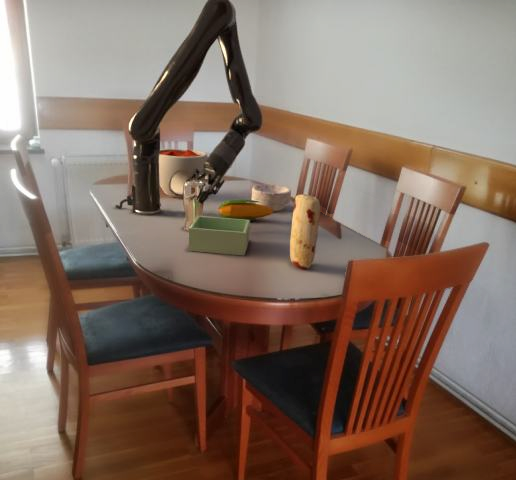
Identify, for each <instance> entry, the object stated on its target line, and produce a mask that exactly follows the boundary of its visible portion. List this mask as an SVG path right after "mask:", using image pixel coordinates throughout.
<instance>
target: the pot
mask: <svg viewBox="0 0 516 480" xmlns="http://www.w3.org/2000/svg"><path fill="white" fill-rule="evenodd" d="M208 157H209V155H208V154H207V153H205V152H204V151H200V150H194V149H189V148H188V149H186V148H185V149H184V148H160V156H159V178H160V189H162V191H163V192H164V194H166V195H167V196H169V197H171V198H176V199H177V198H178V199H183V195H182V193H183V186H184V182H186V180H187V179H188V177H189V176H190V175H191V174H192V172H193V171H194V170H195V169H196V168H197V169H198V170H199V171H202V170H203V169H204V162H205V161H206V159H207V158H208ZM192 180H193V179H191V180H190V181H192ZM197 181H198V180H197Z"/></svg>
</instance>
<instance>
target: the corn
mask: <svg viewBox="0 0 516 480" xmlns="http://www.w3.org/2000/svg"><path fill="white" fill-rule="evenodd" d="M254 202H259V201H254V200H252V199H229V200H226V201H223V202H222V203H221V204H220V206H219V207H218V213H219V215H220V216H221V218H231V219H243V220H250V222H252V221H256V220H257V219H261V218H264V217H268V216H271V215H272V214H273V213H274V211H273V210H272V209H270V208H269V207H268V206H264V205H259V204H256V203H254Z"/></svg>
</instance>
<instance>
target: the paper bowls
mask: <svg viewBox="0 0 516 480" xmlns="http://www.w3.org/2000/svg"><path fill="white" fill-rule="evenodd" d="M291 195H292V190H291V189H290V188H289V187H287V186H284V185H279V184H278V185H277V184H257V185H254V186H253V187H251V200H254V201H259V202H253V203H254V204H259V205H264V206H268V207H269V208H270V209H272V210H273V212H280V211H282V210H283V209H285V206H286V205H289V204H290V203H291V198H292V196H291Z"/></svg>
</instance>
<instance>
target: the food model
mask: <svg viewBox="0 0 516 480" xmlns="http://www.w3.org/2000/svg"><path fill="white" fill-rule="evenodd" d="M320 217H321V204H320V199H318V198H317V197H316V196H311V195H309V194H307V193H305V194H297V195H296V196H295V198H294V205H293V212H292V221H291V231H290V242H289V257H290V261H291V264H292V265H293V266H294V267H296V268H298V269H300V270H306V269H307V270H308V269H310V268H311V265H312V264H313V262H314V260H315V256H316V255H315V254H316V248H317V240H318V235H319V234H318V233H319V224H320Z"/></svg>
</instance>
